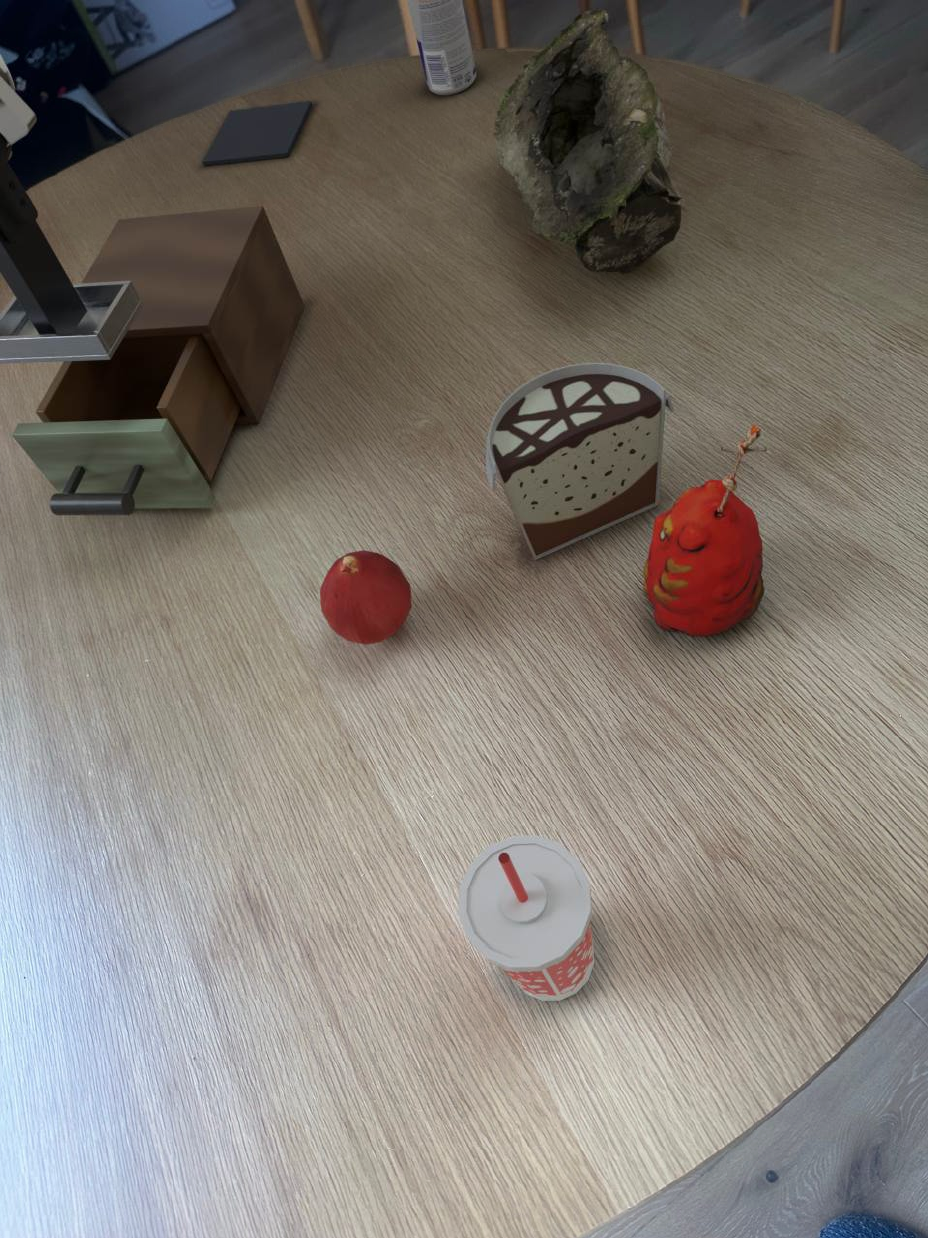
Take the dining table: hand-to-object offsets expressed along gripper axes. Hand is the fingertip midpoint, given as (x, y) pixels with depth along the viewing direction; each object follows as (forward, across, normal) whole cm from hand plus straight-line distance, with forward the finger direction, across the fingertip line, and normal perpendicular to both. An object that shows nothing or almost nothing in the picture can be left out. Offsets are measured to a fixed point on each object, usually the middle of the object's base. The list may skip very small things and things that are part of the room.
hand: (10, 229), depth 63 cm
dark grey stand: (+8, 0, -1) cm, 8 cm away
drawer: (+21, +1, -1) cm, 21 cm away
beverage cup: (+21, +37, -36) cm, 55 cm away
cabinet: (+22, +1, +11) cm, 25 cm away
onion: (+22, +23, -16) cm, 35 cm away
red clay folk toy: (+21, +44, -12) cm, 50 cm away
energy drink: (+22, +14, +54) cm, 61 cm away
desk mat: (+22, -6, +48) cm, 54 cm away
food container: (+22, +35, -4) cm, 41 cm away
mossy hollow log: (+22, +33, +28) cm, 48 cm away
